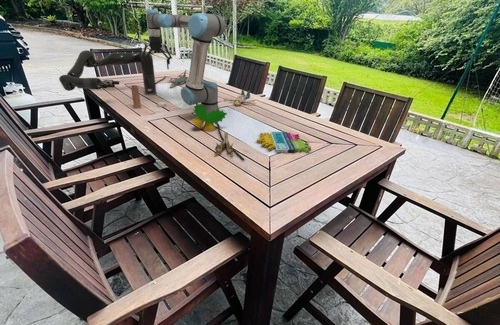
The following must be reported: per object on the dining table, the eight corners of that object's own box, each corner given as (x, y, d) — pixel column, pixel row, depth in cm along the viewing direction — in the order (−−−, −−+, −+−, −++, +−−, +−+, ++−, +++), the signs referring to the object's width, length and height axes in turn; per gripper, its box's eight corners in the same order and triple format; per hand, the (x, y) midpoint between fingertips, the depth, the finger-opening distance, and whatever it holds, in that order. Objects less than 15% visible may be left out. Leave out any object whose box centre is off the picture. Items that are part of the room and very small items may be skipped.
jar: (142, 107, 192) (139, 86, 184) (135, 108, 188) (132, 87, 181) (139, 105, 194) (136, 84, 187) (133, 107, 191) (129, 85, 184)
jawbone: (234, 135, 144) (233, 125, 135) (233, 160, 138) (232, 151, 129) (217, 135, 144) (216, 125, 135) (216, 160, 138) (214, 150, 129)
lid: (158, 104, 201) (158, 102, 200) (166, 104, 201) (166, 102, 200) (157, 106, 196) (156, 104, 195) (165, 106, 196) (164, 104, 195)
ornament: (218, 133, 171) (224, 110, 169) (221, 134, 163) (227, 111, 161) (186, 125, 162) (192, 101, 160) (189, 126, 155) (195, 101, 153)
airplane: (160, 80, 270) (159, 70, 265) (190, 78, 283) (189, 68, 278) (168, 89, 242) (167, 78, 236) (201, 87, 255) (201, 77, 250)
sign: (313, 150, 142) (258, 149, 139) (312, 153, 143) (258, 152, 140) (301, 132, 164) (254, 130, 161) (301, 134, 165) (254, 133, 162)
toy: (261, 91, 228) (254, 99, 202) (261, 99, 231) (253, 108, 205) (231, 87, 233) (220, 95, 207) (230, 95, 236) (219, 104, 210)
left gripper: (86, 80, 173) (111, 81, 174) (95, 75, 185) (119, 76, 187) (89, 91, 176) (114, 92, 178) (98, 86, 189) (121, 87, 190)
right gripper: (173, 36, 182) (175, 68, 192) (134, 34, 174) (139, 68, 184) (174, 37, 176) (176, 70, 186) (134, 35, 168) (139, 70, 178)
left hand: (116, 84), depth 182 cm, fingers open, 8 cm apart
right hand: (158, 69), depth 185 cm, fingers open, 13 cm apart
